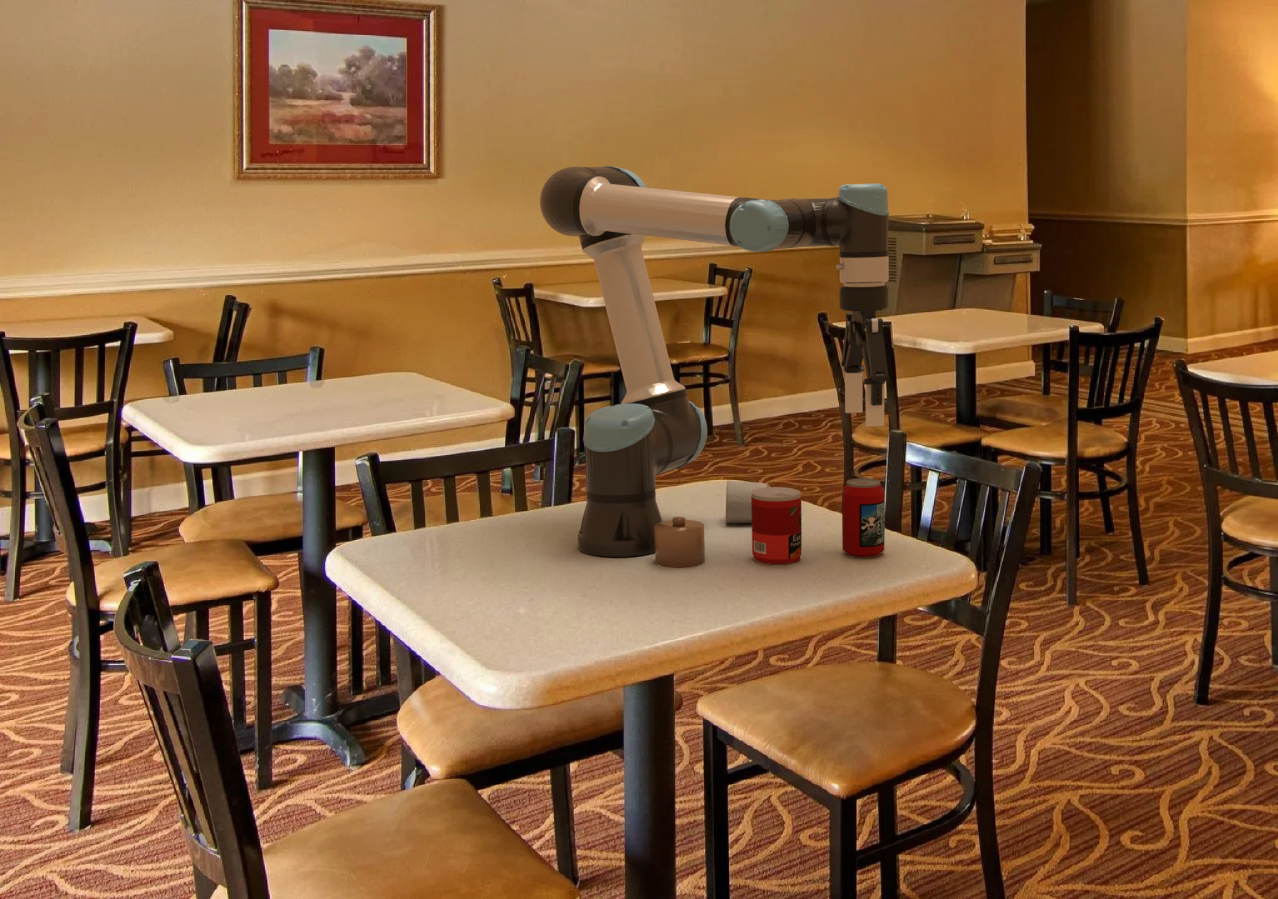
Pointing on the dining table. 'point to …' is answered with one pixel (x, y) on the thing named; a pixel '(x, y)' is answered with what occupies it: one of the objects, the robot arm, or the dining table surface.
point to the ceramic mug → (740, 500)
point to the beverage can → (863, 518)
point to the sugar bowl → (679, 543)
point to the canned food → (776, 525)
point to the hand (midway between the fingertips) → (864, 419)
